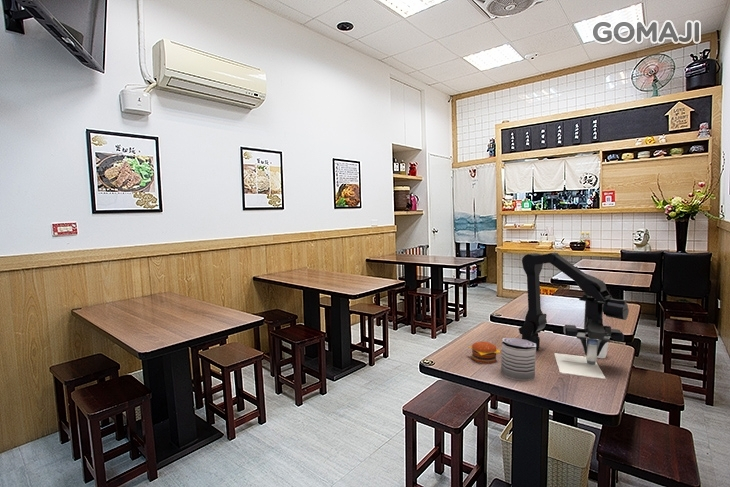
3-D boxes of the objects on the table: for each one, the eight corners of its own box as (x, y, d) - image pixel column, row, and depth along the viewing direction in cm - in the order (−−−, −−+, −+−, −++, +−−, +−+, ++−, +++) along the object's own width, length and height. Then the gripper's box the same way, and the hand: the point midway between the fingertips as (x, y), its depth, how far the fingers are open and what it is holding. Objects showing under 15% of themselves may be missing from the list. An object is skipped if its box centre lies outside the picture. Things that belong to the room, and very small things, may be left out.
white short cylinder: (610, 359, 150) (611, 341, 149) (591, 358, 151) (592, 340, 150) (603, 353, 156) (604, 336, 156) (585, 351, 158) (586, 335, 157)
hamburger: (486, 353, 156) (486, 337, 155) (501, 362, 147) (502, 345, 146) (466, 356, 153) (466, 340, 152) (480, 365, 144) (481, 348, 143)
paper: (559, 373, 137) (560, 372, 137) (554, 353, 156) (554, 352, 156) (605, 379, 132) (605, 378, 132) (593, 358, 151) (593, 357, 151)
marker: (586, 364, 143) (587, 340, 142) (585, 360, 146) (586, 337, 145) (597, 365, 142) (598, 341, 141) (595, 361, 145) (596, 338, 144)
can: (493, 370, 139) (494, 338, 138) (517, 365, 144) (518, 334, 143) (518, 383, 129) (519, 348, 128) (542, 377, 133) (544, 343, 132)
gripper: (568, 317, 138) (566, 359, 139) (629, 322, 131) (627, 366, 133) (564, 309, 148) (562, 349, 150) (621, 314, 142) (618, 355, 143)
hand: (591, 355), depth 144 cm, fingers closed on marker, 3 cm apart
